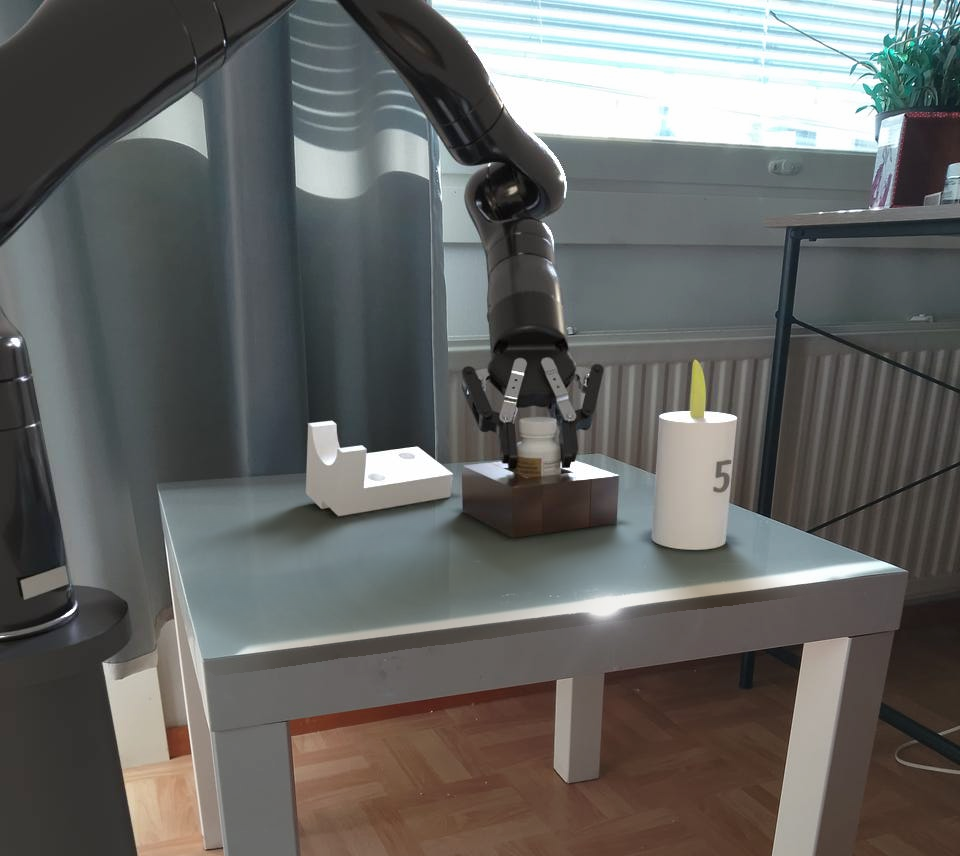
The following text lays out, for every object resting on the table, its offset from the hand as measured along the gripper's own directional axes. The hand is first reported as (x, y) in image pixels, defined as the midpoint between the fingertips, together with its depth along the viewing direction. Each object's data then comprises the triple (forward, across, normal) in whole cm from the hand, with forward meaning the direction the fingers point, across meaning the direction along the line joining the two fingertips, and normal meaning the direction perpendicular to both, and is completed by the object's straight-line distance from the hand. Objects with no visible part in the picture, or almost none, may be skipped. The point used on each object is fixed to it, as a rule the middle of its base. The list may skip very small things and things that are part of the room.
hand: (540, 463), depth 85 cm
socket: (+3, 0, +5) cm, 6 cm away
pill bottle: (+2, 0, +4) cm, 5 cm away
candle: (+9, +12, -1) cm, 15 cm away
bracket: (-3, -15, +11) cm, 19 cm away
